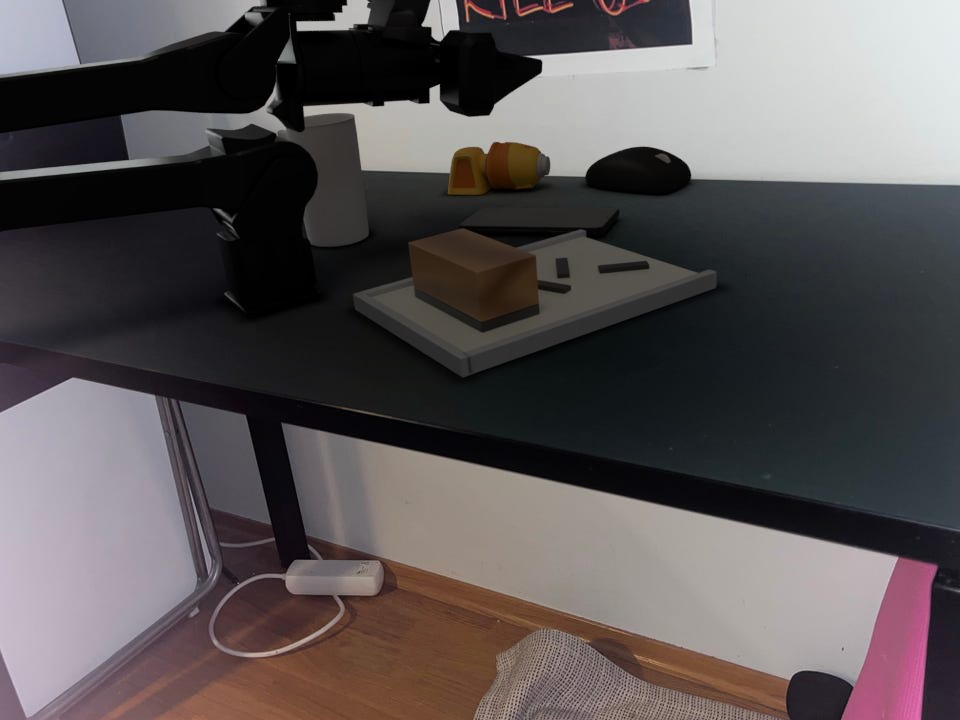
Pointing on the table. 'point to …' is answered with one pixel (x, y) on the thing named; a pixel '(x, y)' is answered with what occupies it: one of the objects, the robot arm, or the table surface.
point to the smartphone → (540, 220)
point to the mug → (333, 180)
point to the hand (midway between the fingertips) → (513, 61)
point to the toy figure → (496, 168)
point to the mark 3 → (623, 267)
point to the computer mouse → (639, 171)
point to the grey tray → (559, 314)
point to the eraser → (475, 278)
